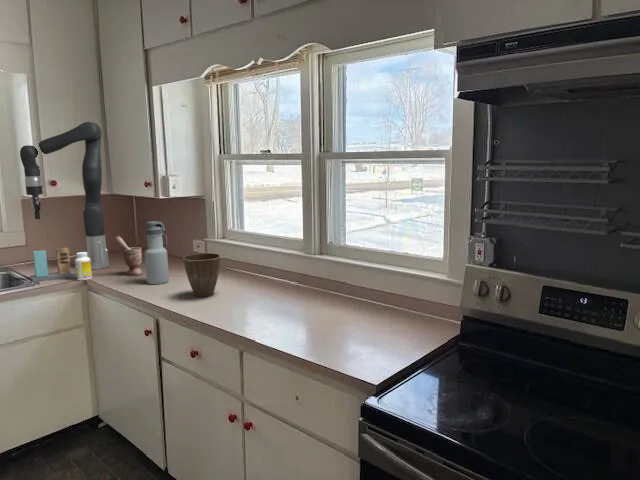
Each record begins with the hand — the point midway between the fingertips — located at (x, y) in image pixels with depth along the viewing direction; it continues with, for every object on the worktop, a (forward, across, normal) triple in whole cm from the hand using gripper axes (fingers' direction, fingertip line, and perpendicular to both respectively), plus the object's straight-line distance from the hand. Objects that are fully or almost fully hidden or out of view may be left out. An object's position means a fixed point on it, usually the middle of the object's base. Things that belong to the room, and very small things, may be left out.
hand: (37, 218), depth 264 cm
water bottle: (+27, -69, -37) cm, 83 cm away
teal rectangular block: (+25, -24, +4) cm, 35 cm away
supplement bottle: (+27, -38, -12) cm, 48 cm away
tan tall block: (+25, -24, -6) cm, 35 cm away
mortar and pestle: (+27, -45, -32) cm, 62 cm away
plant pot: (+27, -104, -44) cm, 116 cm away
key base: (+27, -24, -1) cm, 36 cm away
